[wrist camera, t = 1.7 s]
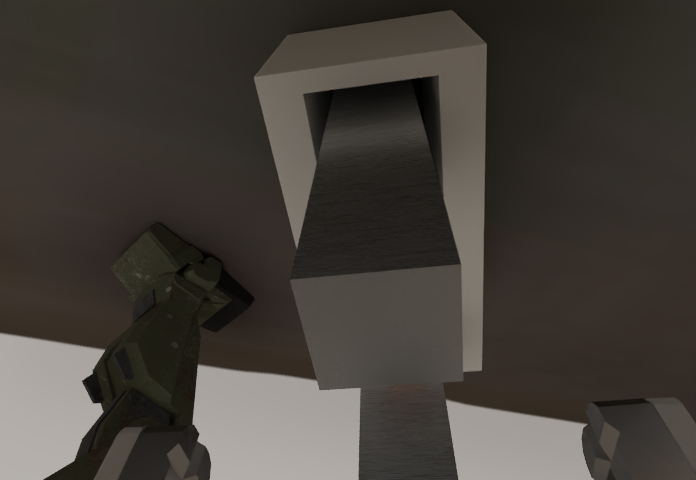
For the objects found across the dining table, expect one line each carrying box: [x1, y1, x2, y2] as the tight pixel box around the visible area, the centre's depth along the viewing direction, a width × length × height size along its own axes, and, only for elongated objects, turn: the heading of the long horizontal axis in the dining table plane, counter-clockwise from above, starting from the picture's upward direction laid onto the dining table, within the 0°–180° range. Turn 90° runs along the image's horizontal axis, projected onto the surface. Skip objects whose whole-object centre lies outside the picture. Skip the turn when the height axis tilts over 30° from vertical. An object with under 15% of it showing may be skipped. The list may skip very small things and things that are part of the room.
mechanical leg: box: [44, 223, 254, 480], centre depth 28 cm, size 14×7×30 cm, turn 43°
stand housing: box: [254, 10, 487, 372], centre depth 29 cm, size 20×10×11 cm, turn 8°
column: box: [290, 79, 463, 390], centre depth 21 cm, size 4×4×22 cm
